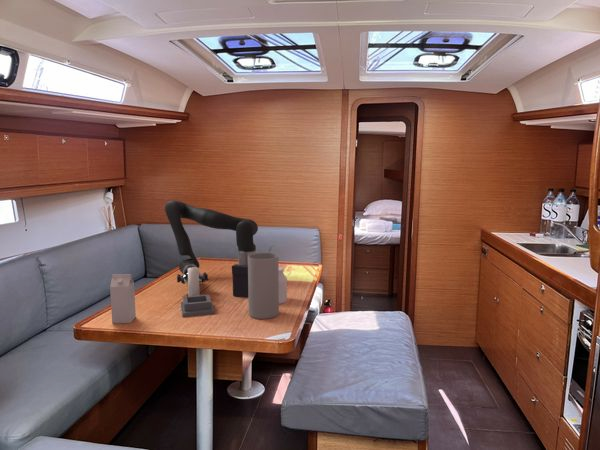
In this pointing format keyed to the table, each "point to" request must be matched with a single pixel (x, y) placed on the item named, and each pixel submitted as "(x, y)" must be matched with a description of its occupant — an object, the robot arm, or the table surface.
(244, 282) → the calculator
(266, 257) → the cylinder vase
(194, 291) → the paper roll
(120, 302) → the milk carton
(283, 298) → the jar
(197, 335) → the table surface
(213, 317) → the table surface
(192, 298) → the roll holder
